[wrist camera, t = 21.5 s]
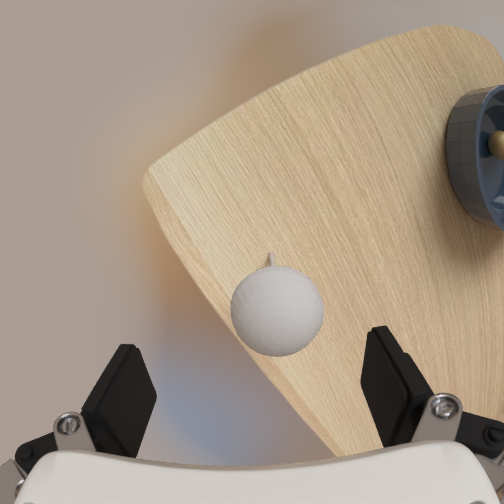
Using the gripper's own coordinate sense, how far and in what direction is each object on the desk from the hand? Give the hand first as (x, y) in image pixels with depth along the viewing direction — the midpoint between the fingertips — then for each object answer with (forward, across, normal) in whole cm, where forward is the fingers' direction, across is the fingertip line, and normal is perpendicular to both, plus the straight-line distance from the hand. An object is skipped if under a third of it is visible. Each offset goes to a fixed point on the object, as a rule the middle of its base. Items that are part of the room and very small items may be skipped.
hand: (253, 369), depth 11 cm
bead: (+17, -30, -10) cm, 36 cm away
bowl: (+20, -30, -8) cm, 37 cm away
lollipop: (+20, -1, +2) cm, 20 cm away
